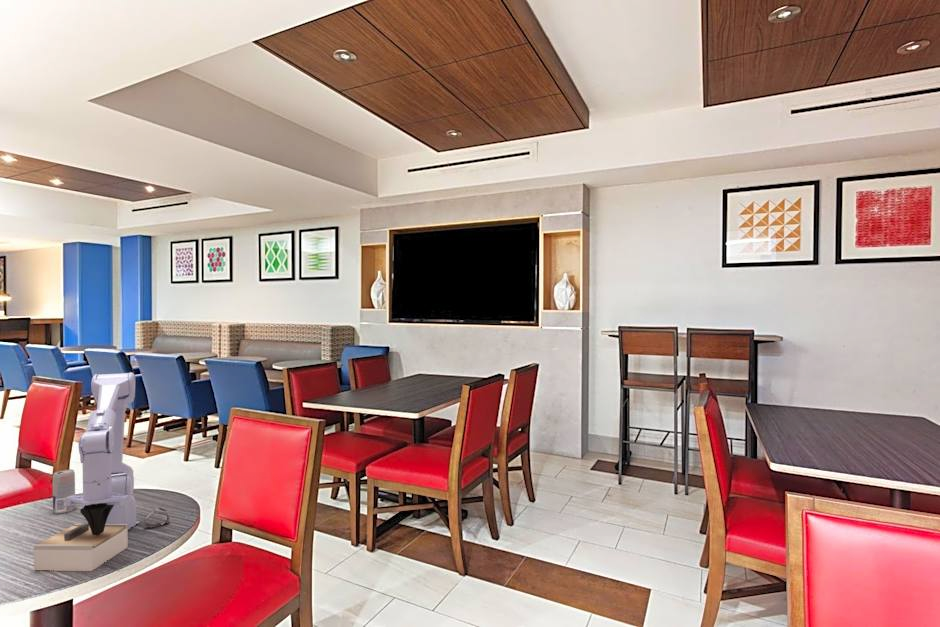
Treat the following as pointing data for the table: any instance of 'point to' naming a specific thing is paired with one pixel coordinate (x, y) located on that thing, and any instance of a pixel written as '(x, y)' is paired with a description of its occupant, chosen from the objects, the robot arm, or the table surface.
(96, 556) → the box
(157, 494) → the table surface
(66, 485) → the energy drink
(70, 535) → the lid
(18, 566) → the table surface
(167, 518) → the wristwatch
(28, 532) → the table surface
